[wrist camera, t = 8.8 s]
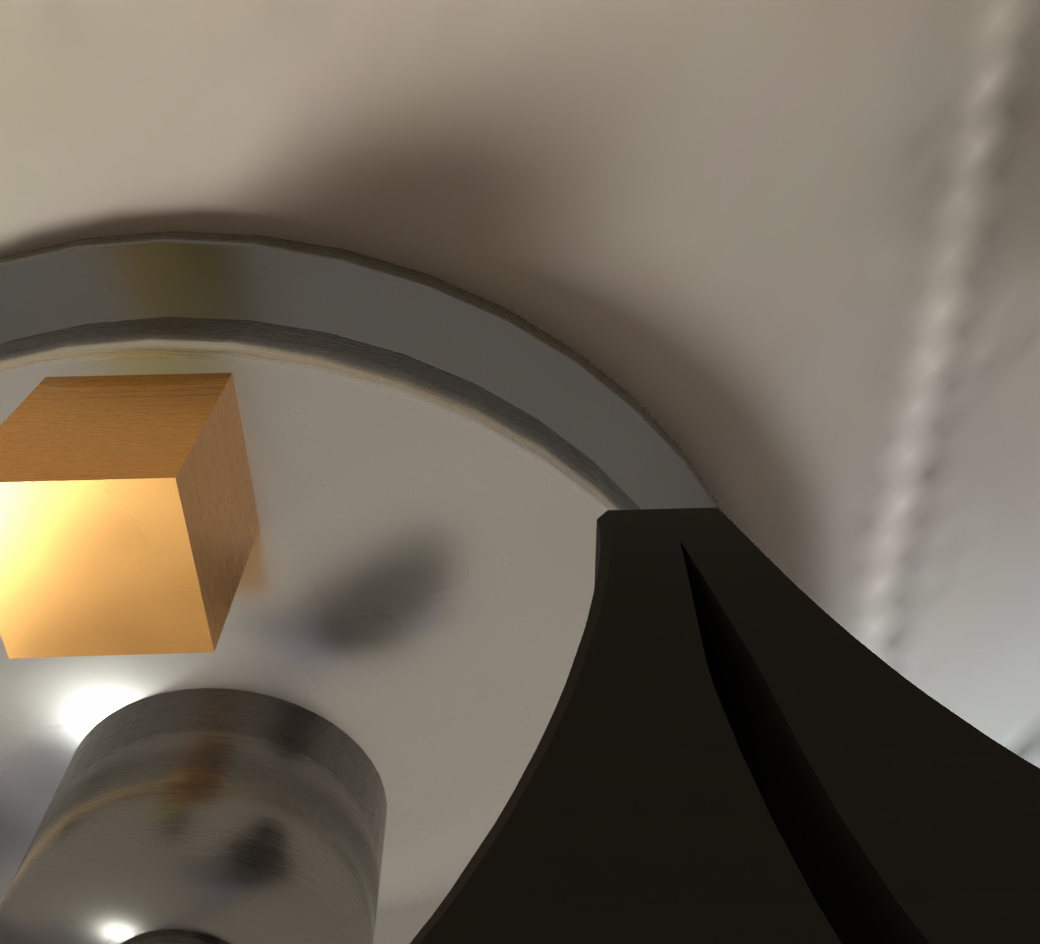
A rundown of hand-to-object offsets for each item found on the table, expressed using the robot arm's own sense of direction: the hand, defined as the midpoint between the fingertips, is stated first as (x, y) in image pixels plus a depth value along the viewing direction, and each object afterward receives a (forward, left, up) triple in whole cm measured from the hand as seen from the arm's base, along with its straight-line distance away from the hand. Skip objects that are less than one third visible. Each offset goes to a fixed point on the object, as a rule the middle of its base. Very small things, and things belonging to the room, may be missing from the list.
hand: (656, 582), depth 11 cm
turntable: (-7, -8, -6) cm, 12 cm away
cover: (-7, -7, -3) cm, 10 cm away
